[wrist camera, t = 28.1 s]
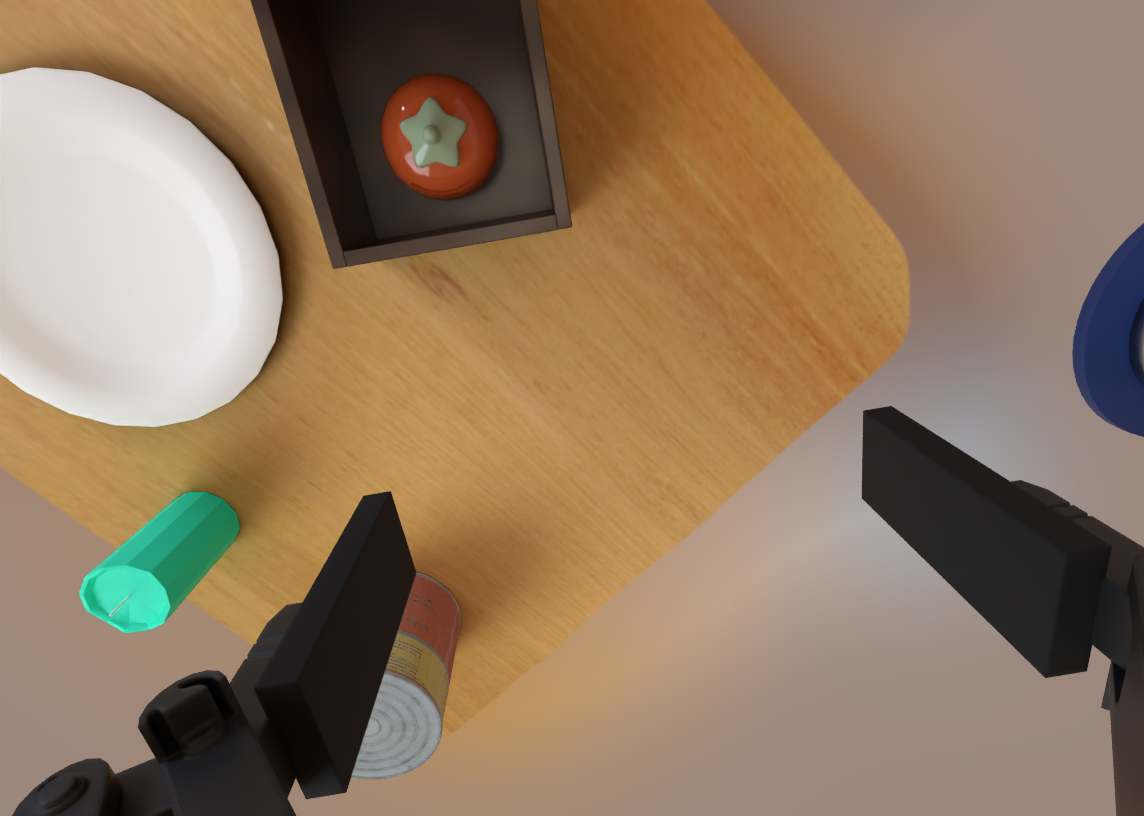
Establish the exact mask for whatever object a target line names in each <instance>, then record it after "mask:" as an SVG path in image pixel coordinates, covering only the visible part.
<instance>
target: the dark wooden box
mask: <svg viewBox="0 0 1144 816" xmlns="http://www.w3.org/2000/svg"><path fill="white" fill-rule="evenodd" d="M251 3H252V6H253V9H254V13H255V16H256V19H257V22H258V26H259V29H260V32H261V36H262V39H263V42H264V45H265V49H266V52H267V55H268V58H269V62H270V65H271V68H272V71H273V75H274V78H275V81H276V84H277V88H278V91H279V94H280V97H281V101H282V104H283V107H284V111H285V114H286V117H287V120H288V124H289V127H290V130H291V133H292V137H293V140H294V143H295V146H296V150H297V153H298V156H299V159H300V163H301V166H302V169H303V173H304V176H305V179H306V182H307V186H308V189H309V192H310V195H311V199H312V202H313V205H314V208H315V212H316V215H317V218H318V221H319V225H320V228H321V231H322V234H323V238H324V241H325V244H326V248H327V251H328V254H329V257H330V261H331V264H332V267H333V269H337V268H342V267H347V266H354V265H360V264H365V263H371V262H377V261H382V260H388V259H394V258H400V257H405V256H411V255H417V254H422V253H428V252H434V251H440V250H445V249H451V248H457V247H462V246H468V245H474V244H479V243H485V242H491V241H497V240H502V239H508V238H514V237H519V236H525V235H531V234H537V233H542V232H548V231H554V230H558V229H565V228H570V227H572V221H571V215H570V209H569V202H568V196H567V190H566V183H565V177H564V171H563V164H562V158H561V152H560V145H559V139H558V132H557V126H556V120H555V113H554V107H553V101H552V94H551V88H550V82H549V75H548V69H547V62H546V56H545V50H544V43H543V37H542V31H541V24H540V18H539V12H538V5H537V0H251ZM433 72H434V73H440V74H446V75H452V76H455V77H457V78H459V79H461V80H463V81H465V82H467V83H469V84H471V85H472V86H473V87H474V88H475V89H476V90H477V91H478V92H479V93H480V94H481V95H482V96H483V97H484V98H485V99H486V101H487V102H488V104H489V106H490V108H491V110H492V112H493V114H494V116H495V118H496V122H497V127H498V131H499V136H500V142H499V154H498V159H497V162H496V164H495V167H494V169H493V172H492V174H491V176H490V177H489V178H488V179H487V181H486V182H485V183H484V184H483V185H482V186H481V188H480V189H478V190H477V191H475V192H473V193H472V194H470V195H468V196H466V197H465V198H461V199H456V200H451V201H442V200H435V199H429V198H427V197H425V196H422V195H420V194H418V193H416V192H414V191H412V190H411V189H410V188H409V187H408V186H406V185H405V184H404V183H403V182H402V181H401V180H400V179H399V178H398V177H397V176H396V175H395V173H394V171H393V170H392V168H391V167H390V165H389V163H388V162H387V160H386V158H385V154H384V150H383V146H382V143H381V118H382V115H383V112H384V109H385V106H386V103H387V101H388V100H389V98H390V97H391V96H392V94H393V93H394V92H395V90H396V89H397V88H398V86H400V85H401V84H403V83H404V82H406V81H408V80H409V79H411V78H412V77H414V76H418V75H423V74H428V73H433Z"/></svg>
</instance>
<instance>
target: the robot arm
mask: <svg viewBox="0 0 1144 816" xmlns="http://www.w3.org/2000/svg"><path fill="white" fill-rule="evenodd" d="M1129 358H1130V363H1131V366H1132V369H1133V372H1134V374H1135V376H1136V377H1137V379H1138V380H1139V382H1140V383H1141V384H1142V385H1143V386H1144V299H1143V300H1142V302H1141V304H1140V306H1139V308H1138V311H1137V313H1136V315H1135V318H1134V321H1133V324H1132V328H1131V332H1130V338H1129ZM862 499H863V500H864V501H865V502H866V503H867V504H868V505H869V506H871V508H872V509H873V510H874V511H875V512H877V513H878V515H880V516H881V517H882V518H883V519H884V520H885V521H886V522H887V523H888V524H889V525H890V526H891V527H892V528H893V529H894V530H895V531H896V532H897V533H898V534H899V535H900V536H901V537H902V538H903V539H904V540H905V541H906V542H907V543H908V544H909V545H910V546H911V547H912V548H913V549H914V550H915V551H916V552H918V554H919V555H920V556H921V557H922V558H924V560H926V562H928V563H929V564H930V565H931V566H932V567H933V568H934V569H935V570H936V571H937V572H938V573H939V574H940V575H941V576H942V577H943V578H944V579H945V580H946V581H947V582H948V583H949V584H950V585H951V586H952V587H953V588H954V589H955V590H956V591H957V592H958V593H959V594H960V595H961V596H962V597H963V598H964V599H965V600H966V601H967V602H968V603H969V604H970V605H971V606H972V607H973V608H975V610H976V611H978V612H979V613H980V614H981V615H982V616H983V617H984V618H985V619H986V620H987V621H988V622H989V623H990V624H991V625H992V626H993V627H994V628H995V629H996V630H997V631H998V632H999V633H1000V634H1001V635H1002V636H1003V637H1004V638H1005V639H1006V640H1007V641H1008V642H1009V643H1010V644H1011V645H1012V646H1013V647H1014V648H1015V649H1016V650H1017V651H1018V652H1019V653H1020V654H1022V656H1023V657H1024V658H1025V659H1027V660H1028V661H1029V662H1030V663H1031V664H1032V665H1033V666H1034V667H1035V668H1036V669H1037V670H1038V671H1039V672H1040V673H1041V674H1042V675H1043V676H1044V677H1045V678H1048V677H1054V676H1060V675H1066V674H1073V673H1079V672H1084V671H1087V668H1088V663H1089V658H1090V652H1091V648H1092V645H1094V646H1095V647H1096V648H1097V649H1098V650H1100V651H1101V652H1102V653H1103V654H1104V655H1106V656H1107V657H1108V658H1109V659H1110V660H1111V665H1110V670H1109V674H1108V679H1107V683H1106V688H1105V692H1104V697H1103V702H1102V706H1101V708H1104V709H1107V710H1110V715H1111V733H1112V749H1113V766H1114V783H1115V800H1116V816H1144V547H1142V546H1141V545H1138V544H1137V543H1135V542H1134V541H1132V540H1131V539H1129V538H1127V537H1126V536H1124V535H1122V534H1121V533H1119V532H1117V531H1115V530H1114V529H1112V528H1110V527H1109V526H1107V525H1106V524H1104V523H1102V522H1101V521H1099V520H1097V519H1096V518H1094V517H1092V516H1088V515H1087V513H1086V512H1084V511H1082V510H1081V509H1079V508H1078V507H1076V506H1074V505H1072V506H1070V503H1069V502H1067V501H1066V500H1064V499H1063V498H1061V497H1059V496H1057V495H1056V494H1054V493H1053V492H1051V491H1049V490H1047V489H1044V488H1041V487H1039V486H1036V485H1033V484H1030V483H1027V482H1024V481H1021V480H1018V481H1012V482H1010V481H1008V480H1007V479H1005V478H1004V477H1002V476H1001V475H999V474H998V473H996V472H994V471H993V470H991V469H990V468H988V467H986V466H985V465H983V464H981V463H980V462H978V461H977V460H975V459H974V458H972V457H971V456H969V455H968V454H966V453H964V452H963V451H961V450H960V449H958V448H957V447H955V446H953V445H952V444H950V443H949V442H947V441H945V440H944V439H942V438H941V437H939V436H937V435H936V434H934V433H933V432H931V431H930V430H928V429H926V428H925V427H923V426H922V425H920V424H919V423H917V422H915V421H914V420H912V419H911V418H909V417H908V416H906V415H904V414H903V413H901V412H900V411H898V410H896V409H895V408H893V407H892V406H889V407H883V408H877V409H871V410H865V411H863V458H862ZM415 576H416V570H415V567H414V564H413V561H412V557H411V554H410V551H409V548H408V545H407V541H406V538H405V535H404V532H403V529H402V526H401V522H400V519H399V516H398V513H397V510H396V506H395V503H394V500H393V497H392V494H391V491H389V492H383V493H378V494H372V495H366V496H363V498H362V499H361V501H360V503H359V505H358V506H357V508H356V510H355V512H354V513H353V515H352V517H351V519H350V520H349V522H348V524H347V526H346V527H345V529H344V531H343V533H342V534H341V536H340V538H339V540H338V541H337V543H336V545H335V547H334V548H333V550H332V552H331V554H330V556H329V557H328V559H327V561H326V563H325V564H324V566H323V568H322V570H321V571H320V573H319V575H318V577H317V578H316V580H315V582H314V584H313V585H312V587H311V589H310V591H309V592H308V594H307V596H306V598H305V599H304V601H303V602H302V603H296V604H290V605H286V606H285V607H284V608H283V609H282V610H281V611H280V612H279V613H278V614H276V615H275V616H274V617H273V618H272V619H271V620H270V621H269V622H268V623H267V625H266V626H265V628H264V629H263V631H262V633H261V634H260V636H259V637H258V639H257V644H254V645H253V647H252V649H251V650H250V652H249V654H248V658H247V659H245V660H244V661H243V663H242V665H241V666H240V668H239V669H238V671H237V673H236V675H235V676H234V678H233V679H232V681H231V682H230V684H229V682H228V680H227V678H226V676H225V675H223V674H222V673H221V672H220V671H211V670H207V671H203V672H198V673H194V674H191V675H189V676H188V677H185V678H183V679H181V680H178V681H176V682H175V683H173V684H172V685H170V686H169V687H167V688H166V689H164V690H163V691H162V692H160V693H159V694H158V695H157V696H156V697H155V698H154V699H153V700H152V701H151V702H150V703H149V704H148V705H147V706H146V708H145V709H144V711H143V713H142V714H141V716H140V718H139V725H138V728H139V730H140V732H141V733H142V735H143V737H144V739H145V740H146V742H147V744H148V745H149V747H150V749H151V751H152V752H153V754H154V756H155V757H156V758H154V759H151V760H149V761H147V762H144V763H142V764H139V765H137V766H134V767H132V768H129V769H127V770H125V771H122V772H120V773H117V774H114V772H113V771H112V769H111V767H110V766H109V764H108V763H107V762H105V761H104V760H102V759H100V758H99V759H86V760H83V761H80V762H77V763H75V764H71V765H69V766H68V767H66V768H64V769H62V770H60V771H58V772H57V773H55V774H53V775H51V776H50V777H49V778H47V779H46V780H45V781H44V782H42V783H41V784H39V785H38V786H37V787H36V788H34V789H33V790H32V791H31V792H30V793H29V795H28V796H27V797H26V798H25V799H24V800H23V801H22V802H21V803H20V804H19V805H18V807H17V808H16V810H15V812H14V814H13V815H12V816H296V814H295V813H294V810H293V808H292V806H291V805H290V803H289V801H288V799H287V798H288V795H289V793H290V790H291V788H292V786H293V783H294V781H295V778H296V779H297V781H298V783H299V785H300V788H301V790H302V792H303V794H304V796H305V798H306V799H310V798H316V797H322V796H328V795H334V794H340V793H346V791H347V788H348V785H349V782H350V779H351V776H352V773H353V770H354V767H355V764H356V760H357V757H358V754H359V751H360V748H361V745H362V742H363V739H364V735H365V732H366V729H367V726H368V723H369V720H370V717H371V714H372V710H373V707H374V704H375V701H376V698H377V695H378V692H379V689H380V685H381V682H382V679H383V676H384V673H385V670H386V667H387V664H388V660H389V657H390V654H391V651H392V648H393V645H394V642H395V639H396V635H397V632H398V629H399V626H400V623H401V620H402V617H403V614H404V611H405V607H406V604H407V601H408V598H409V595H410V592H411V589H412V586H413V582H414V579H415Z"/></svg>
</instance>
